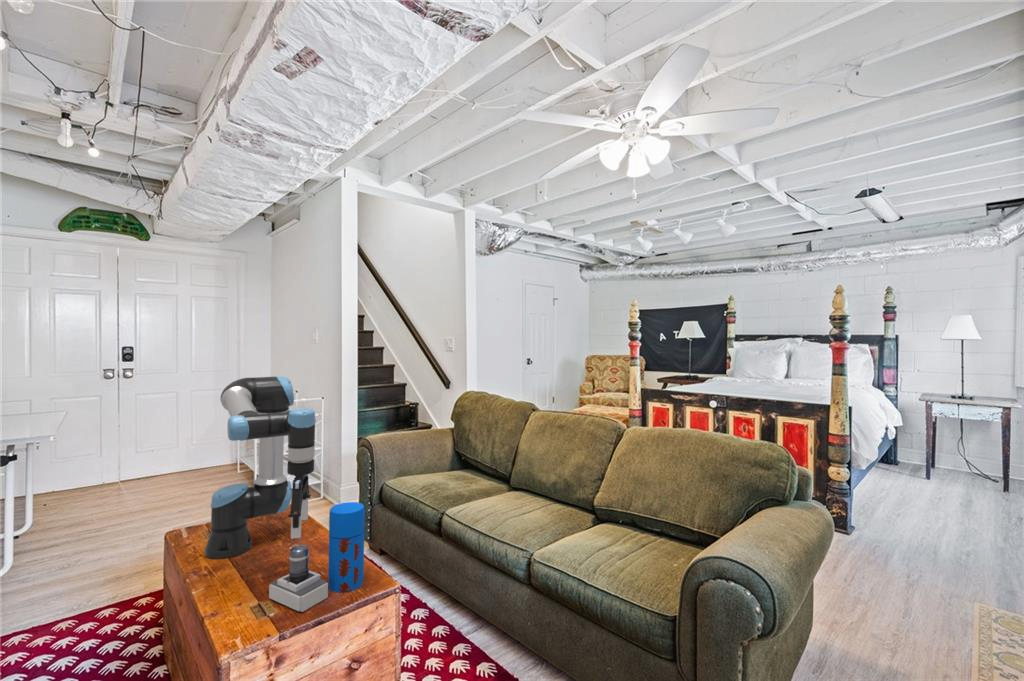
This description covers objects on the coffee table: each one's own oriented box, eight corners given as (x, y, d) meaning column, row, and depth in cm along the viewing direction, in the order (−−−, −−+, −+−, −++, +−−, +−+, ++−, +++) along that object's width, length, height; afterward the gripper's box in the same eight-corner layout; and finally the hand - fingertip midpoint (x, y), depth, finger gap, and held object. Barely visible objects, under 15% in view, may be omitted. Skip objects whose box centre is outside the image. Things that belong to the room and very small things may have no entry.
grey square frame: (269, 599, 141) (269, 577, 141) (296, 585, 150) (297, 564, 150) (300, 613, 134) (300, 590, 134) (327, 598, 143) (328, 576, 143)
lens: (284, 583, 141) (285, 550, 141) (300, 575, 146) (301, 543, 146) (296, 588, 138) (297, 554, 139) (312, 580, 143) (313, 547, 143)
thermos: (334, 576, 156) (335, 502, 156) (366, 575, 157) (367, 501, 157) (323, 593, 145) (325, 514, 145) (358, 592, 146) (359, 513, 146)
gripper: (294, 450, 153) (293, 514, 154) (279, 472, 129) (277, 547, 130) (319, 449, 155) (317, 512, 156) (308, 470, 131) (306, 544, 132)
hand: (299, 528), depth 143 cm, fingers open, 13 cm apart
